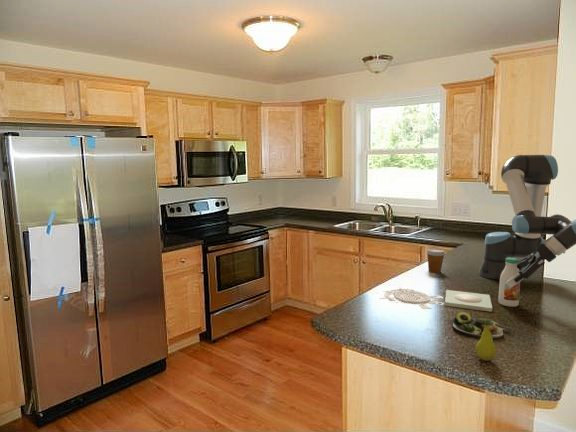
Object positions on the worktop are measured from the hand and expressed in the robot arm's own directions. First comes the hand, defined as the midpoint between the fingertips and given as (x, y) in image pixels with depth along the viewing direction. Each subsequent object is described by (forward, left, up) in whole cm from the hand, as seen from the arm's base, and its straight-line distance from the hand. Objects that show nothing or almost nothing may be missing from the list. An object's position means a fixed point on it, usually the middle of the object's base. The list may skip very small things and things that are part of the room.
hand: (505, 280), depth 174 cm
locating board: (+4, -14, -10) cm, 18 cm away
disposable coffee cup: (-42, -30, -10) cm, 53 cm away
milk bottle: (0, +2, -10) cm, 10 cm away
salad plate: (+34, -12, -11) cm, 38 cm away
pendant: (+8, -37, -11) cm, 40 cm away
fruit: (+59, -10, -10) cm, 61 cm away
